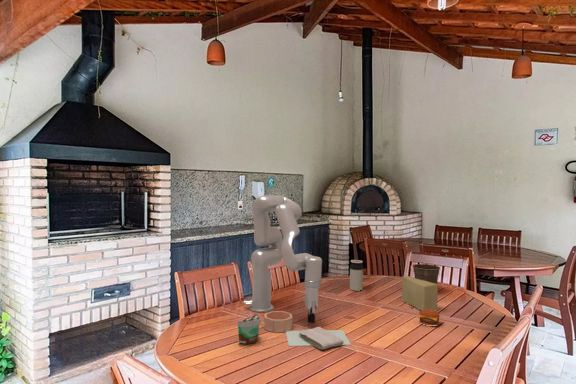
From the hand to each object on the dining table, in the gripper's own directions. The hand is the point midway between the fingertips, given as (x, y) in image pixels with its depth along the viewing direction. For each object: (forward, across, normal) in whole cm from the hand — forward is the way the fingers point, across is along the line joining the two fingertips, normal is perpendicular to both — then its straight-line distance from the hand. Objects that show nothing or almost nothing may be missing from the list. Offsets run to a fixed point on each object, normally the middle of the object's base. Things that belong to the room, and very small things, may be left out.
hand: (311, 322), depth 186 cm
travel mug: (+3, -61, +37) cm, 72 cm away
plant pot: (+2, -54, +80) cm, 96 cm away
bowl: (+2, +1, -15) cm, 16 cm away
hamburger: (+1, -1, +58) cm, 58 cm away
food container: (+2, +17, -27) cm, 32 cm away
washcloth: (+2, +18, +1) cm, 18 cm away
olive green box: (+2, -27, +62) cm, 68 cm away
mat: (+2, +14, +1) cm, 14 cm away
